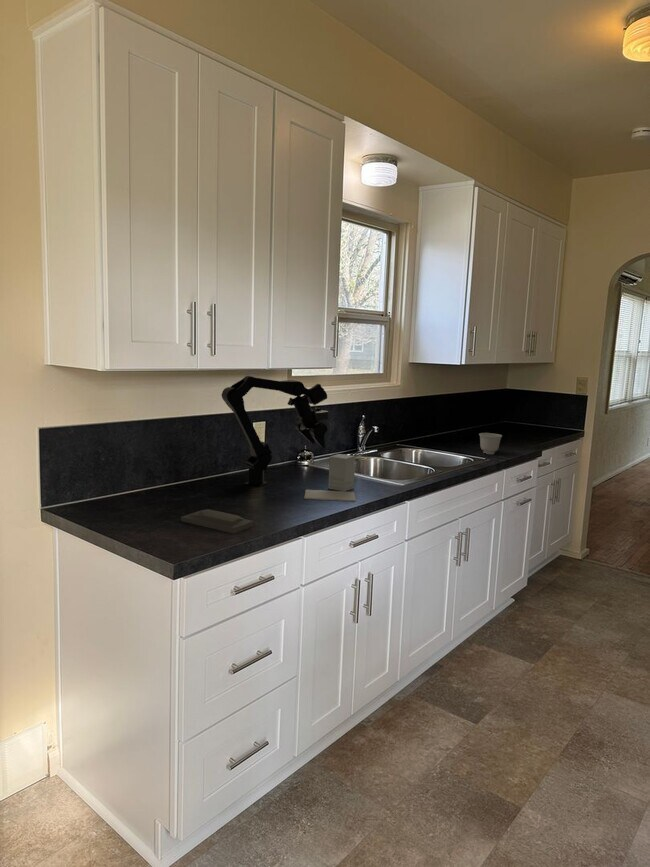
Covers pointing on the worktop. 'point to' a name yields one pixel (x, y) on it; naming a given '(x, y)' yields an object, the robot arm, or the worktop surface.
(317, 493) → the grey mat
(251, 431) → the robot arm
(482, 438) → the teacup
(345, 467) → the supplement box
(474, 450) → the worktop surface
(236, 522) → the soap mold
